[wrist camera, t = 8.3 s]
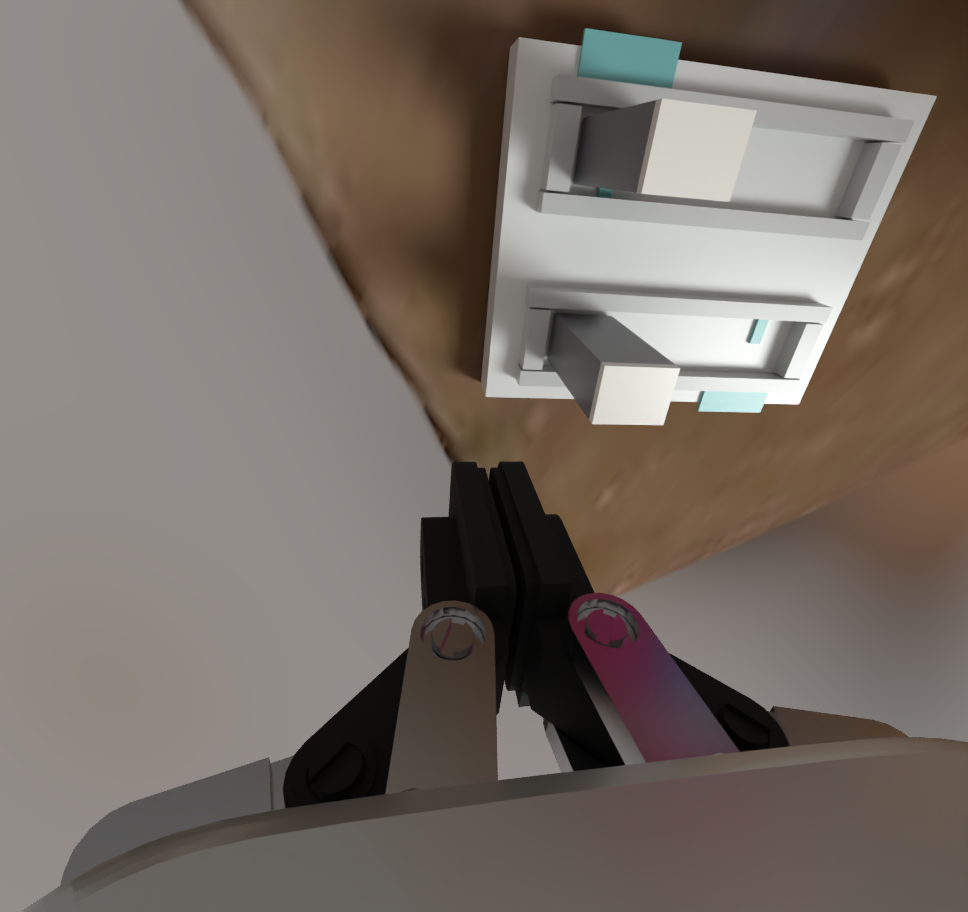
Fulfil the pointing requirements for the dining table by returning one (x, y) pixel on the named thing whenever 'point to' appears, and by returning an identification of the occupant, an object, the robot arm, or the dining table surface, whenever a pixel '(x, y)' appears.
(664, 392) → the tab
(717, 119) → the tab
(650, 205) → the switch board
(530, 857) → the robot arm
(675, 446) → the dining table surface
